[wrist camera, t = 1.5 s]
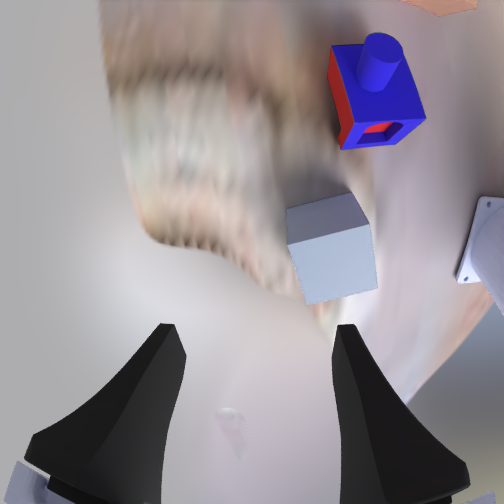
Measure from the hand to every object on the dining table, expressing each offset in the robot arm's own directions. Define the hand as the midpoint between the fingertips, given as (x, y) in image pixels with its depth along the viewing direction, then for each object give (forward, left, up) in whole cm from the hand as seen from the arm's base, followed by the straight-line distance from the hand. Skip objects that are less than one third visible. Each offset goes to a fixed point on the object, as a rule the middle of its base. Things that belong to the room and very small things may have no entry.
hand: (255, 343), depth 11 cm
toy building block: (-6, -8, -11) cm, 15 cm away
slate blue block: (-4, +1, -10) cm, 11 cm away
